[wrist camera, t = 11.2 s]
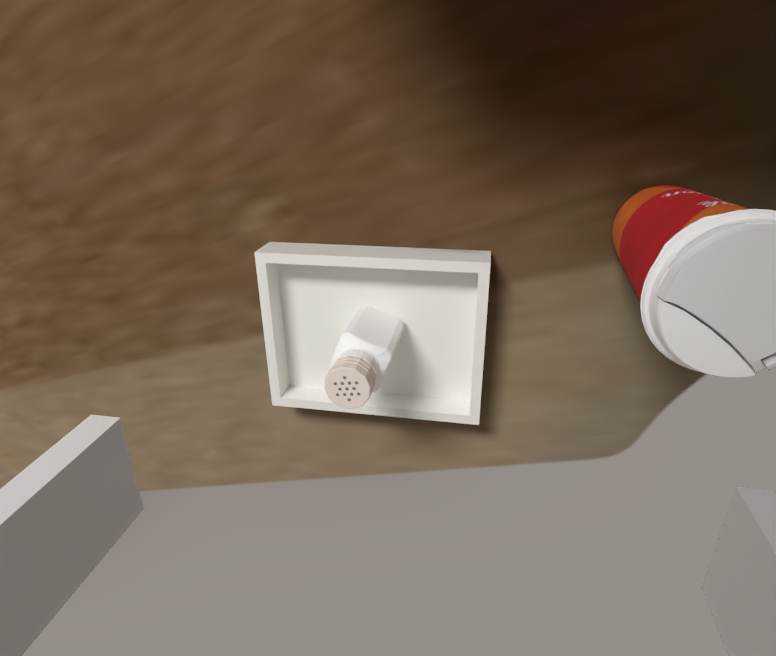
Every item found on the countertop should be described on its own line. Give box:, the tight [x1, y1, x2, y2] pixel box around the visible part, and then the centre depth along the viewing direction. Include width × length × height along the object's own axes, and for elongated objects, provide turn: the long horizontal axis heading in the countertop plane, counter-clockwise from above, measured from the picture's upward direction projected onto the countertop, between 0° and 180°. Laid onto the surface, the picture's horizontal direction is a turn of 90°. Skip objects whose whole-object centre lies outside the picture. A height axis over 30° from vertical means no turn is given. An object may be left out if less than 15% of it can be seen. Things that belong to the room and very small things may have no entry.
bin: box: [254, 242, 491, 425], centre depth 43 cm, size 14×18×3 cm
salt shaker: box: [324, 304, 404, 409], centre depth 39 cm, size 4×4×10 cm
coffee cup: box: [612, 185, 776, 378], centre depth 30 cm, size 8×8×15 cm
